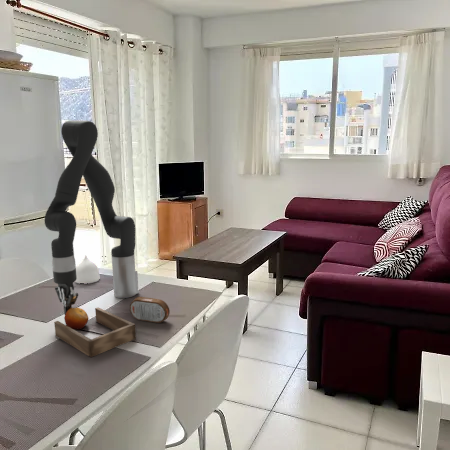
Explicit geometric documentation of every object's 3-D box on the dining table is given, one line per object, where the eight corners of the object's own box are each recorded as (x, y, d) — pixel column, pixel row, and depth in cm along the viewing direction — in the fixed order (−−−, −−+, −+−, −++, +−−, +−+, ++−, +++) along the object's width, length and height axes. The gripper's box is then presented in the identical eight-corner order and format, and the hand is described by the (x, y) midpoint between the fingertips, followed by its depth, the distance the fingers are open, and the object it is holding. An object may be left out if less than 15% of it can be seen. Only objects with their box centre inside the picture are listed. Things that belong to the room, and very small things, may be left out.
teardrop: (89, 274, 209) (88, 250, 207) (104, 278, 203) (103, 254, 200) (70, 281, 200) (67, 256, 198) (85, 285, 194) (83, 259, 191)
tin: (170, 321, 154) (169, 299, 152) (166, 325, 151) (165, 302, 150) (133, 316, 159) (132, 294, 157) (128, 320, 156) (127, 297, 154)
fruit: (63, 319, 153) (73, 300, 152) (83, 329, 155) (93, 310, 153) (56, 329, 145) (67, 309, 144) (77, 339, 147) (88, 320, 146)
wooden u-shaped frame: (99, 320, 156) (98, 307, 155) (136, 338, 141) (135, 324, 140) (55, 335, 144) (54, 321, 143) (90, 357, 129) (89, 341, 128)
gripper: (83, 269, 148) (87, 316, 151) (65, 262, 157) (69, 307, 160) (63, 274, 142) (67, 323, 146) (45, 266, 151) (49, 313, 155)
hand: (68, 314), depth 153 cm, fingers closed
